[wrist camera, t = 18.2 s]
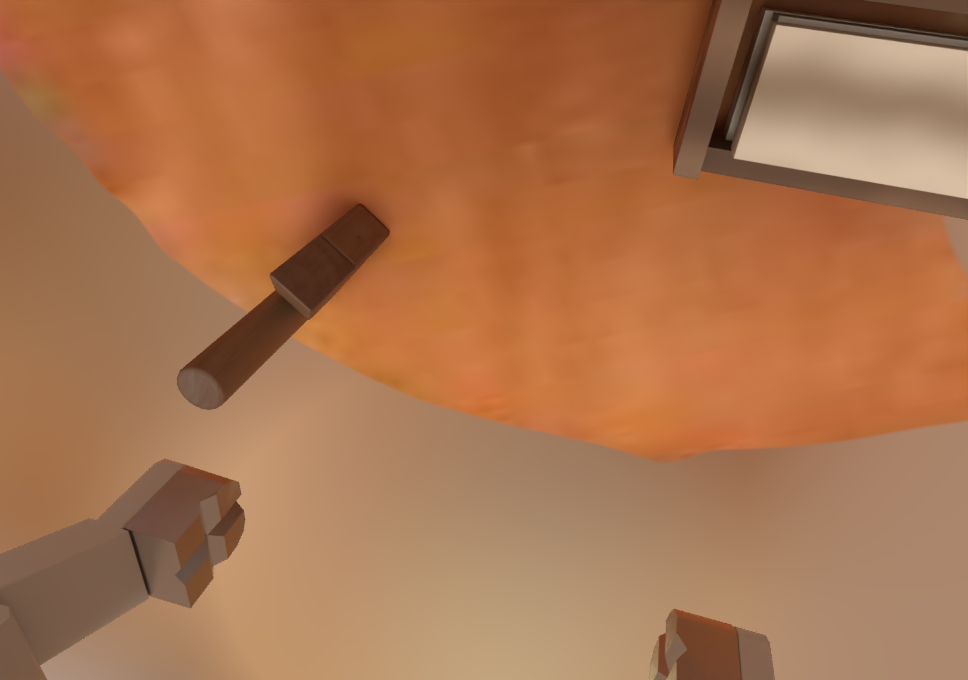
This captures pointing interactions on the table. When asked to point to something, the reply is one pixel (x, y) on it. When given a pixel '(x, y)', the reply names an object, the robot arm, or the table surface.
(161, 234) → the table surface
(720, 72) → the walnut rack
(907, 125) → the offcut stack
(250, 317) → the brown wooden handled piece
